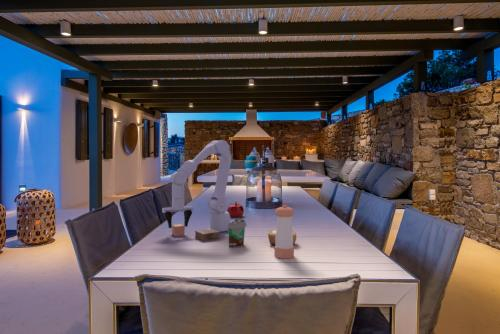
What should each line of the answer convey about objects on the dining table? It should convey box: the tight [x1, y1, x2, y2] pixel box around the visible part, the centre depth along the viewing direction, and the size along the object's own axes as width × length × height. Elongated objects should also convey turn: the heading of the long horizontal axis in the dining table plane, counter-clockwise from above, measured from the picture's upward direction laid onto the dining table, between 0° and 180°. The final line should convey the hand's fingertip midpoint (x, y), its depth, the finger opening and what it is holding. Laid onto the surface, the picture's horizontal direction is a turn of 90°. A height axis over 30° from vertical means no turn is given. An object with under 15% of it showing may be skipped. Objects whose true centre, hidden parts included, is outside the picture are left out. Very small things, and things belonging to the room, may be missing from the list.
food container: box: [228, 217, 247, 248], centre depth 161 cm, size 12×6×10 cm, turn 168°
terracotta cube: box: [171, 223, 186, 237], centre depth 179 cm, size 4×4×4 cm
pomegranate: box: [226, 200, 245, 218], centre depth 228 cm, size 10×10×9 cm
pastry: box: [267, 229, 297, 247], centre depth 163 cm, size 12×12×9 cm
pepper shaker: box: [273, 204, 295, 260], centre depth 144 cm, size 7×7×19 cm
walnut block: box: [194, 228, 220, 242], centre depth 172 cm, size 8×8×4 cm
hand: (178, 227), depth 179 cm, fingers open, 7 cm apart
